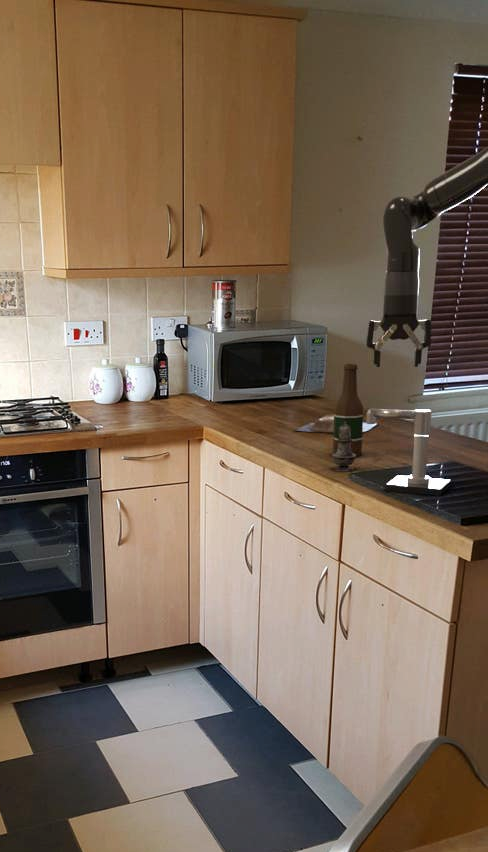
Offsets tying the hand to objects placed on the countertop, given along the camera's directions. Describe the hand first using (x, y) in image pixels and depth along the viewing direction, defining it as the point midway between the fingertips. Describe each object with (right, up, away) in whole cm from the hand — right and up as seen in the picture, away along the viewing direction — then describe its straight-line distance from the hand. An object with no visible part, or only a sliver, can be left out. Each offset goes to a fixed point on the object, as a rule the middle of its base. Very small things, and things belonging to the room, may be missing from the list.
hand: (396, 366), depth 202 cm
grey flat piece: (+1, -1, +77) cm, 77 cm away
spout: (-2, -16, -6) cm, 17 cm away
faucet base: (+4, -29, -5) cm, 29 cm away
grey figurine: (-9, -22, +17) cm, 29 cm away
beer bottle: (-4, -16, +34) cm, 38 cm away
